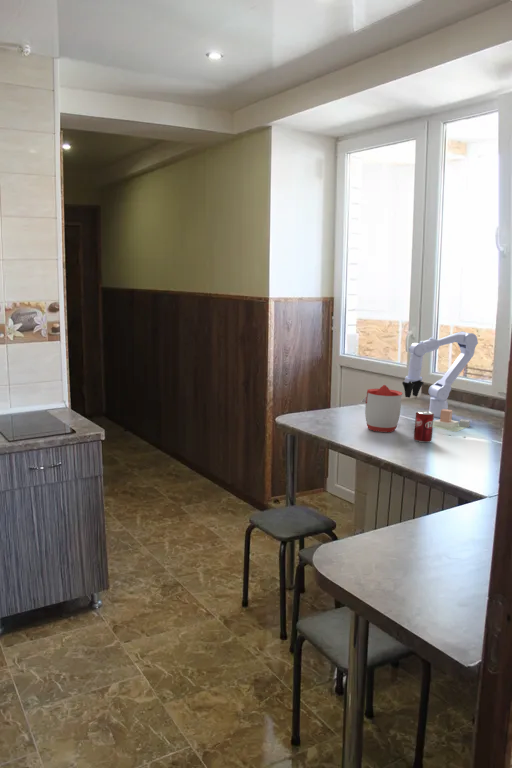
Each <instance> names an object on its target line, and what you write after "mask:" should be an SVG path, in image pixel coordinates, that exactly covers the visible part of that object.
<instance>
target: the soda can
mask: <svg viewBox="0 0 512 768" xmlns="http://www.w3.org/2000/svg"><path fill="white" fill-rule="evenodd" d="M434 418H435V417H434V414H433V413H432V412H429V410H417V411H415V418H414V430H413V440H414V441H415V440H416V441H415V442H418V441H419V443H423V442H428V443H431V442H430V441H432V440H433V439H432V438H433V429H434V427H433V421H435V419H434Z"/></svg>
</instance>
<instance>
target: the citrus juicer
mask: <svg viewBox="0 0 512 768" xmlns="http://www.w3.org/2000/svg"><path fill="white" fill-rule="evenodd" d="M402 396H403V392H402V391H399V390H394V389H390V388H389V387H388V386H387V385H386V384H383V385H382V386H381V387H379V388H370V389H369V388H368V389H367V392H366V396H365V397H363V398H362V399H361V401H360V403H365V406H364V407H365V409H364V414H365V415H364V416H365V421H366V426H367V429H369V430H370V431H372V430H373V431H372V432H379V433H388V432H390V433H391V432H395V430H396V429H397V426H398V423H399V421H400V417H401V409H402V408H401V407H402Z"/></svg>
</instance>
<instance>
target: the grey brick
mask: <svg viewBox="0 0 512 768" xmlns="http://www.w3.org/2000/svg"><path fill="white" fill-rule="evenodd" d="M470 423H471V420H470V419H463V418H461V419H460V420H459V426H462V427H467V428H469V427H470Z"/></svg>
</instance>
